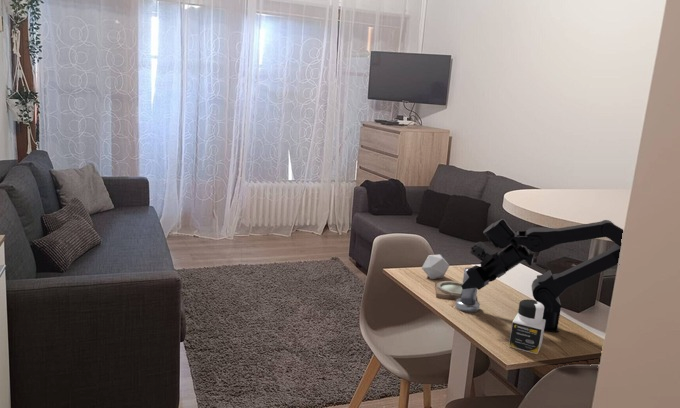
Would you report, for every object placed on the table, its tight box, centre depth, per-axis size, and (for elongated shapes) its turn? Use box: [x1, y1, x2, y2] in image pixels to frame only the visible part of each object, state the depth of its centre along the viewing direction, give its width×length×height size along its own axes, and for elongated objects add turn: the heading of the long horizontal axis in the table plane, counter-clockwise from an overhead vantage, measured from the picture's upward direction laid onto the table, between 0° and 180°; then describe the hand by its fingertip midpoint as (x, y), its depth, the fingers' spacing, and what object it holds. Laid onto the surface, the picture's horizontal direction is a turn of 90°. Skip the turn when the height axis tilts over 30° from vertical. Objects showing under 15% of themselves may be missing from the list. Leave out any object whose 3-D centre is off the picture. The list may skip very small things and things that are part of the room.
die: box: [421, 253, 450, 280], centre depth 192 cm, size 8×9×10 cm
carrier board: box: [434, 280, 463, 301], centre depth 179 cm, size 12×12×2 cm
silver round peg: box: [454, 267, 481, 314], centre depth 166 cm, size 7×7×12 cm
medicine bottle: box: [508, 299, 545, 355], centre depth 143 cm, size 7×7×12 cm
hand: (465, 285), depth 166 cm, fingers closed on silver round peg, 4 cm apart
